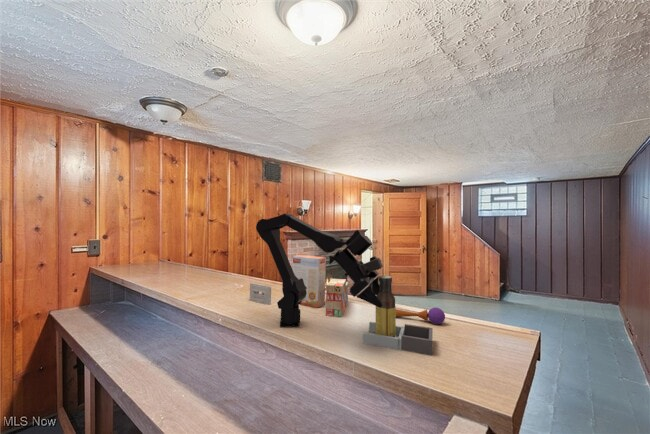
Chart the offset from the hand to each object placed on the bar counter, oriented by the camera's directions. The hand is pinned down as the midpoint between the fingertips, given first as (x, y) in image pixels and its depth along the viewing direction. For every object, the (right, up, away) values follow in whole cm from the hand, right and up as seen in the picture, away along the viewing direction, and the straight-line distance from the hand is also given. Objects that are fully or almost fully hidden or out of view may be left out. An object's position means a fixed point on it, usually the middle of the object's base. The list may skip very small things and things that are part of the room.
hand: (383, 302), depth 94 cm
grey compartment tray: (+4, -12, -2) cm, 12 cm away
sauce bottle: (0, -12, 0) cm, 12 cm away
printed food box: (-13, -12, +31) cm, 35 cm away
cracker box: (-26, -11, +36) cm, 46 cm away
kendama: (+16, -13, +19) cm, 28 cm away
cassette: (-47, -11, +36) cm, 61 cm away
